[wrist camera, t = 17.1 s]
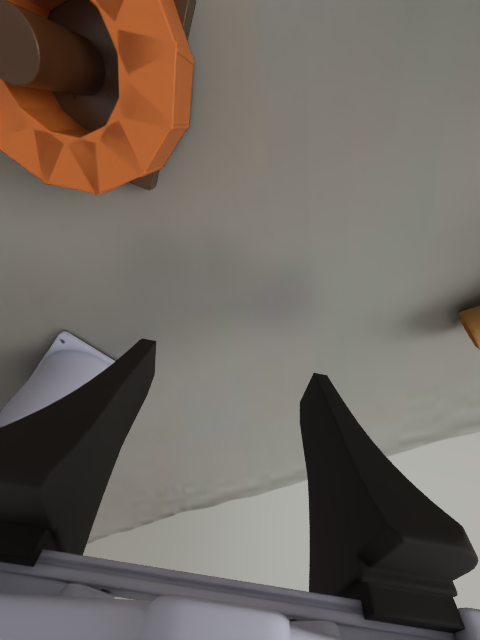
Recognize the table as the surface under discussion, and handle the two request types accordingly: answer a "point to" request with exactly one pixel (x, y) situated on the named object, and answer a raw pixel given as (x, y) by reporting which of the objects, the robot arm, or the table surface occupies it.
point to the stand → (69, 59)
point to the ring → (128, 114)
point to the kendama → (472, 324)
